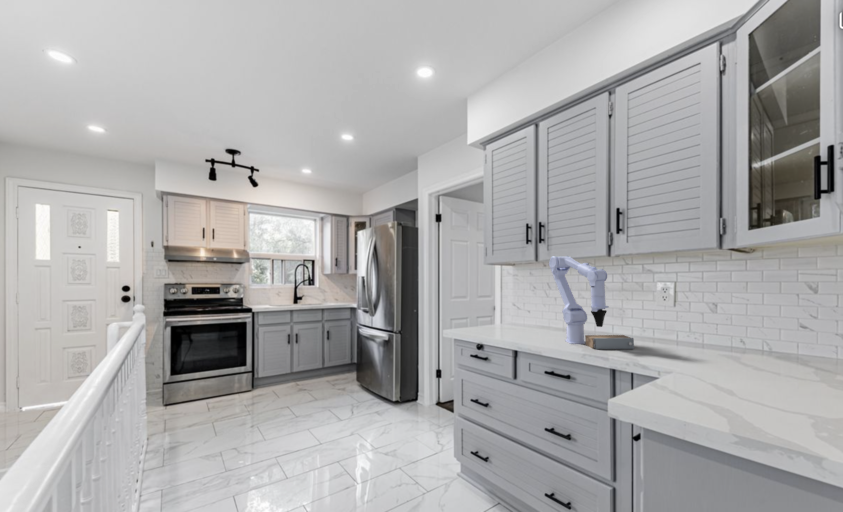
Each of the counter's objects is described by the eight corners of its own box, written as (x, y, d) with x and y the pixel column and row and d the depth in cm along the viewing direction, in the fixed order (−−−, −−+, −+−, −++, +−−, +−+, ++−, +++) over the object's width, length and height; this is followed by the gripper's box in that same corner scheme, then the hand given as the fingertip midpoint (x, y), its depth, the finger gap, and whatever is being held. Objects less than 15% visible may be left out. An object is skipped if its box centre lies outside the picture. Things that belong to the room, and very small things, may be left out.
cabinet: (585, 345, 170) (585, 335, 170) (623, 344, 168) (623, 335, 168) (592, 348, 161) (592, 338, 161) (633, 348, 159) (632, 338, 160)
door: (593, 348, 161) (592, 338, 161) (632, 348, 159) (632, 337, 159) (595, 349, 159) (594, 338, 159) (635, 349, 157) (634, 338, 157)
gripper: (603, 297, 156) (605, 329, 155) (611, 295, 167) (613, 325, 166) (586, 296, 160) (587, 328, 159) (595, 295, 171) (596, 324, 170)
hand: (599, 326), depth 163 cm, fingers closed
